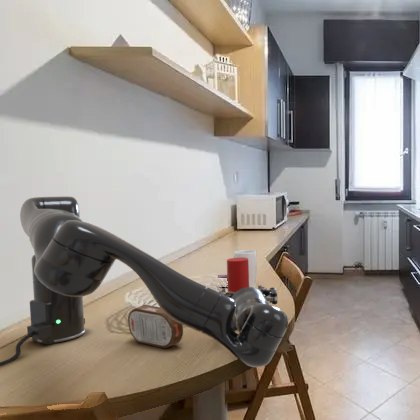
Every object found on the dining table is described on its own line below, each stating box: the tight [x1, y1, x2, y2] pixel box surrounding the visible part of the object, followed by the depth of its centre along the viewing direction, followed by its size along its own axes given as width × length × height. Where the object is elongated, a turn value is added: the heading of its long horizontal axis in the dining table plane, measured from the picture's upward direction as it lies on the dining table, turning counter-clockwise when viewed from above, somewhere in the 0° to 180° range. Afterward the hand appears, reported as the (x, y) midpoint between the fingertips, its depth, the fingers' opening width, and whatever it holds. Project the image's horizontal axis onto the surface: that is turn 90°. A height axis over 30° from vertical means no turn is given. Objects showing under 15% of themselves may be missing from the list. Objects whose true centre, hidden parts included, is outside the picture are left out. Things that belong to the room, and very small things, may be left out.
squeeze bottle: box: [226, 257, 249, 292], centre depth 113 cm, size 5×5×15 cm
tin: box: [127, 304, 184, 349], centre depth 96 cm, size 15×3×8 cm, turn 65°
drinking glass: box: [233, 249, 258, 289], centre depth 132 cm, size 7×7×15 cm
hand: (241, 291), depth 105 cm, fingers open, 8 cm apart
